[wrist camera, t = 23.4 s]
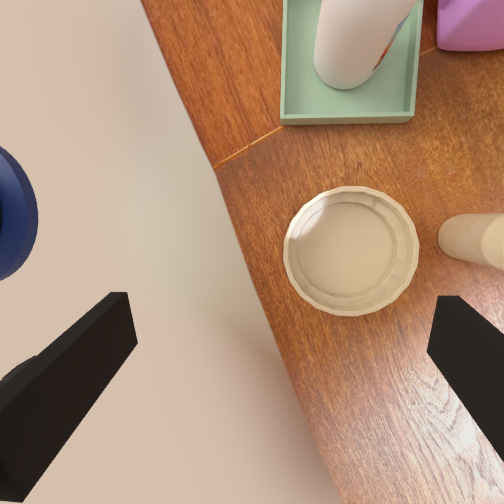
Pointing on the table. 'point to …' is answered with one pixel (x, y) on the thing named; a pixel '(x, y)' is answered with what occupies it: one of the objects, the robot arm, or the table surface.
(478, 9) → the teapot
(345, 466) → the table surface
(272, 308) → the table surface
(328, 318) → the table surface
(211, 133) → the table surface
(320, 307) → the bowl
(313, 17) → the tray
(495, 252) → the candle
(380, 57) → the milk bottle
